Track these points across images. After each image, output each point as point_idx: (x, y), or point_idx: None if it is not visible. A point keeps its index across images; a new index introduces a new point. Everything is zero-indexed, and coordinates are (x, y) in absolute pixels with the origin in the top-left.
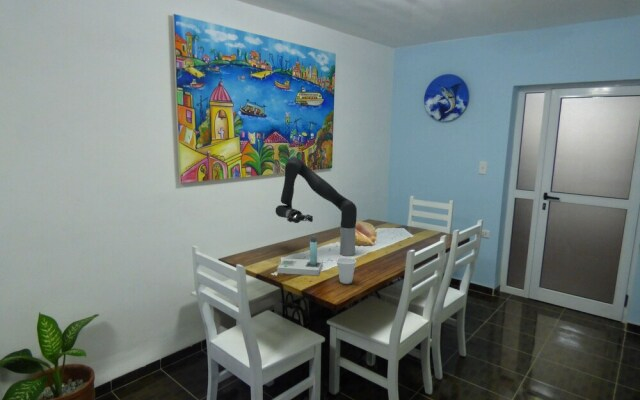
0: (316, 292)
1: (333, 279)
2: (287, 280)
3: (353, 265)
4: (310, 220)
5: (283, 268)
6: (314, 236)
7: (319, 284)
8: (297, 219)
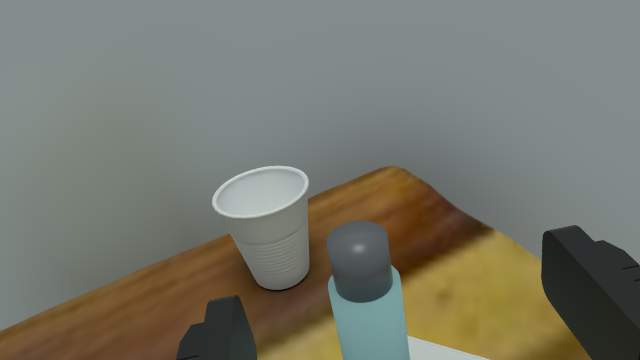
0: (436, 212)
1: (324, 299)
2: None
3: (250, 183)
4: (248, 357)
5: None
6: (351, 229)
7: (407, 263)
8: (568, 227)
